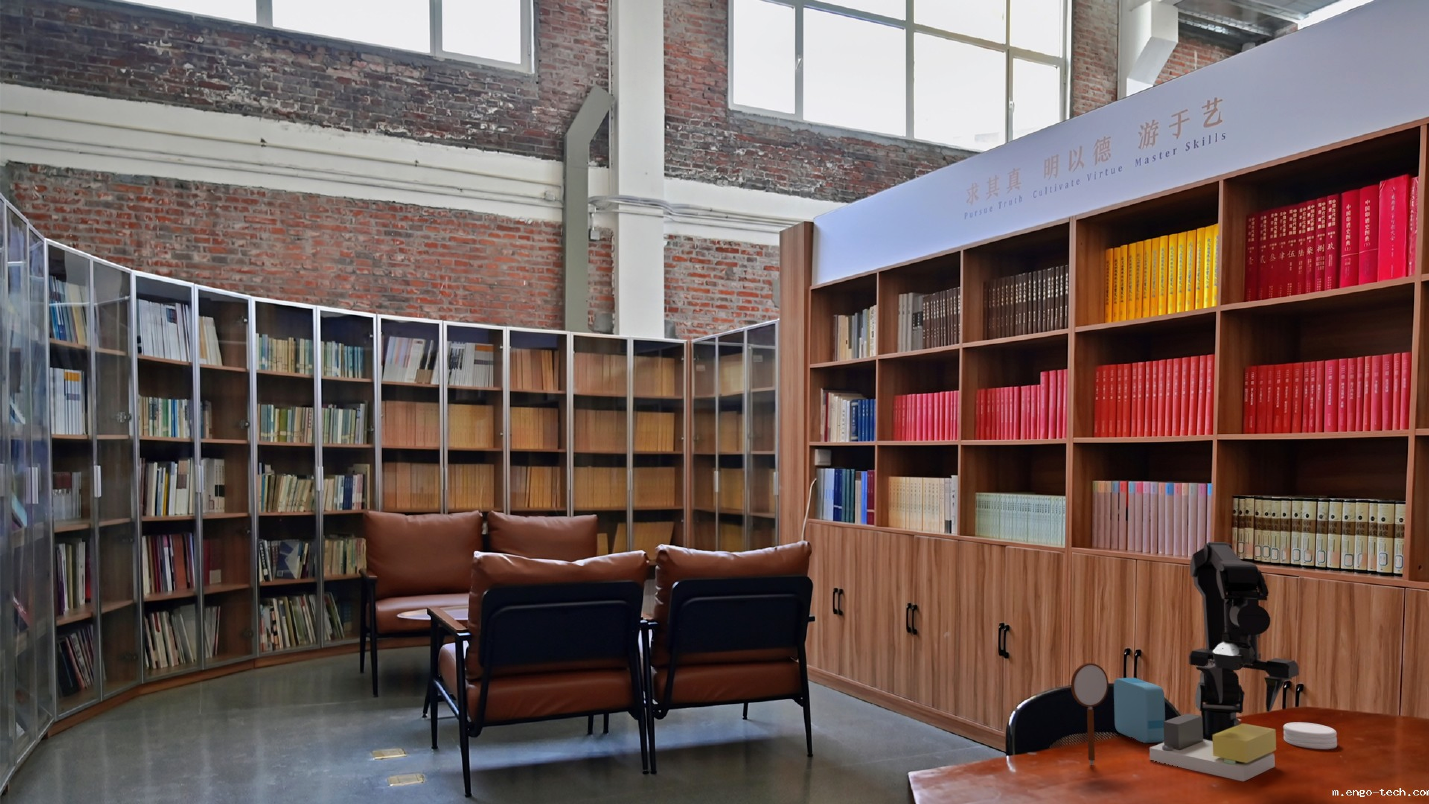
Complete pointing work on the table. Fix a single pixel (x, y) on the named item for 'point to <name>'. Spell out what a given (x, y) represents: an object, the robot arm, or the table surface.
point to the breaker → (1183, 731)
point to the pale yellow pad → (1244, 742)
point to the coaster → (1310, 735)
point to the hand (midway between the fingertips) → (1243, 707)
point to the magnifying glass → (1089, 695)
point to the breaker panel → (1210, 761)
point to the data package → (1139, 709)
